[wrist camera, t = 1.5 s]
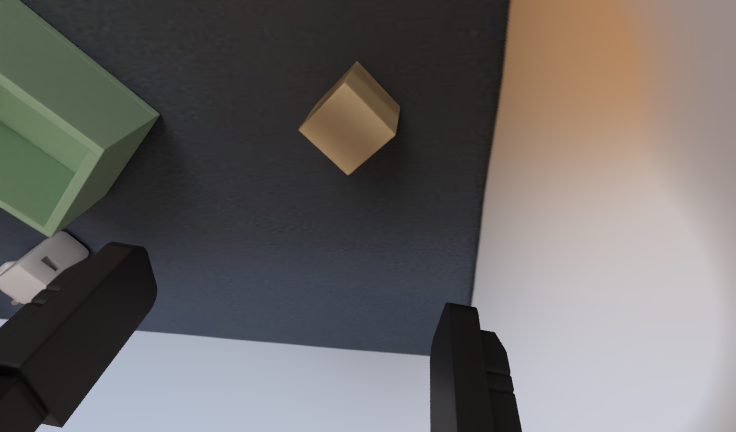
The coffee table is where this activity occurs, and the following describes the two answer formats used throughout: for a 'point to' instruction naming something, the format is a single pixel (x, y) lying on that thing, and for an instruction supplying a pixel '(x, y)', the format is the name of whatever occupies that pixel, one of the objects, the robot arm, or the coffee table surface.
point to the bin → (59, 123)
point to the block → (352, 119)
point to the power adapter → (40, 267)
